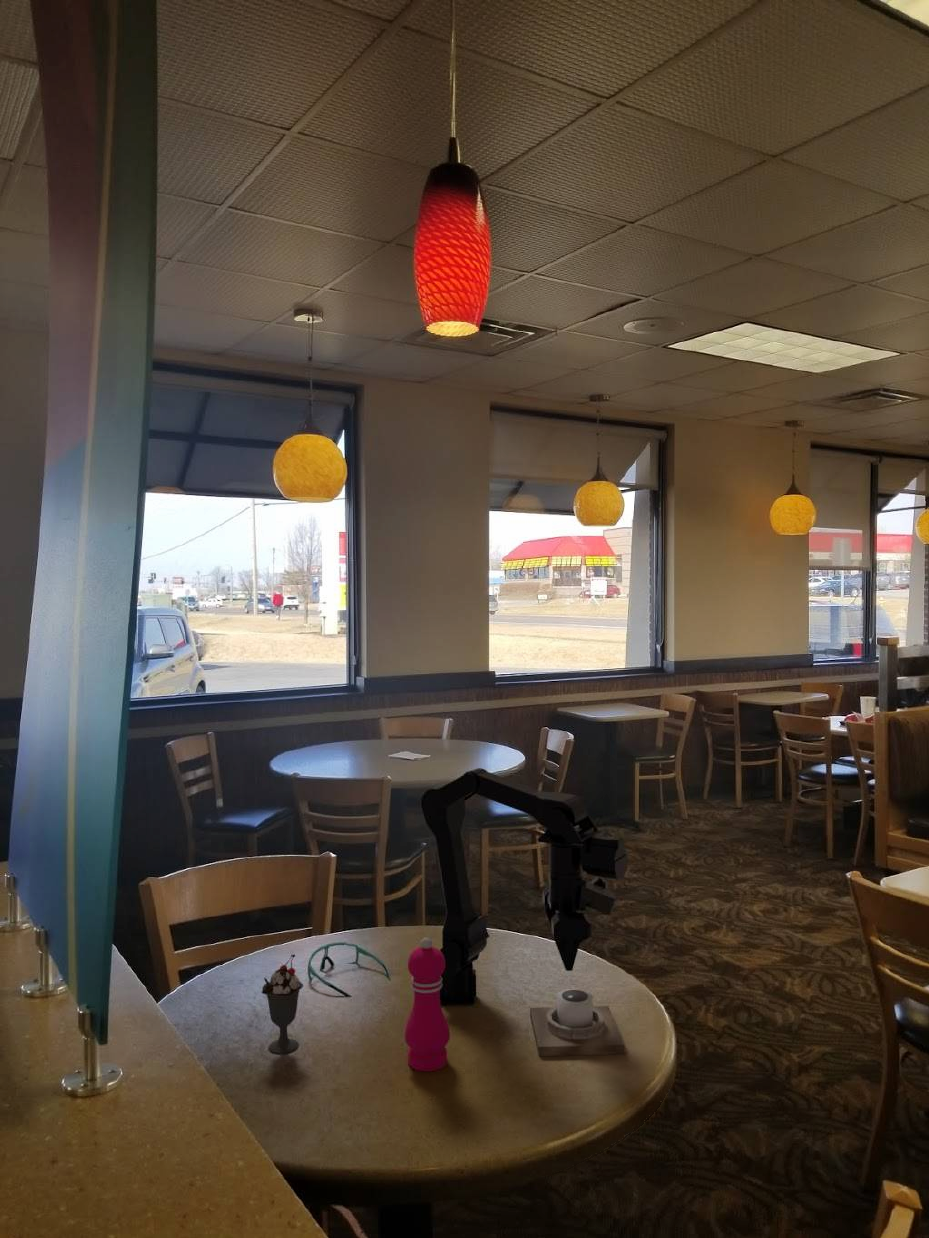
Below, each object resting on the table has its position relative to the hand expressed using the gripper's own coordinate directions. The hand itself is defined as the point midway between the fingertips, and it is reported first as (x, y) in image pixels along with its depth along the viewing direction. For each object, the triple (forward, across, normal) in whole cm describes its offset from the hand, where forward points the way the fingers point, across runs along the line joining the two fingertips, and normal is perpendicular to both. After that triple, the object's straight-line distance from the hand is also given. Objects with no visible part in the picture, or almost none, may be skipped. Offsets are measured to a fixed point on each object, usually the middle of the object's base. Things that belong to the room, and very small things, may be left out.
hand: (565, 959), depth 156 cm
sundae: (+12, -6, +48) cm, 49 cm away
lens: (+10, -3, -1) cm, 11 cm away
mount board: (+12, -3, -1) cm, 12 cm away
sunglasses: (+13, +22, +40) cm, 48 cm away
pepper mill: (+12, -11, +24) cm, 29 cm away
